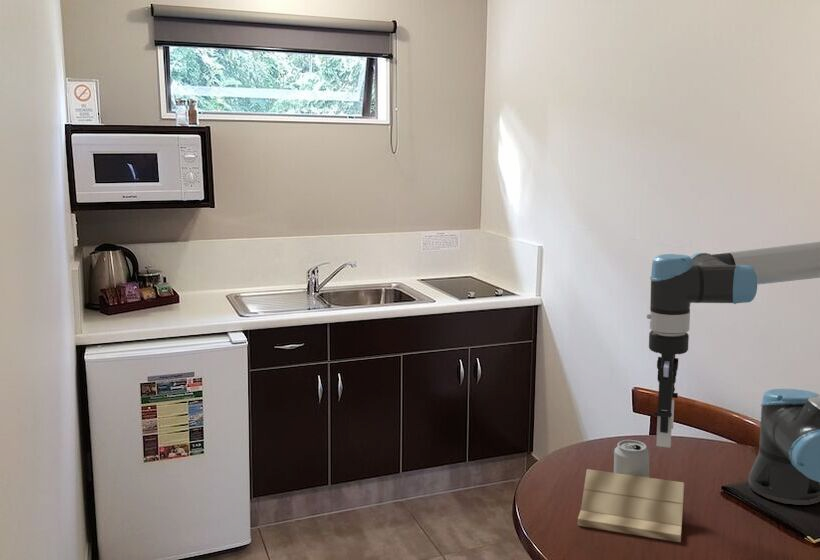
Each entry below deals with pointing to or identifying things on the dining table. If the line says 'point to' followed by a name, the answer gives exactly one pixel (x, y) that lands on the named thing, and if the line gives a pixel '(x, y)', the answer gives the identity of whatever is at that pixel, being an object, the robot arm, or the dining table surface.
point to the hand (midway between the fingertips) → (665, 436)
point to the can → (631, 458)
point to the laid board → (630, 525)
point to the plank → (633, 496)
